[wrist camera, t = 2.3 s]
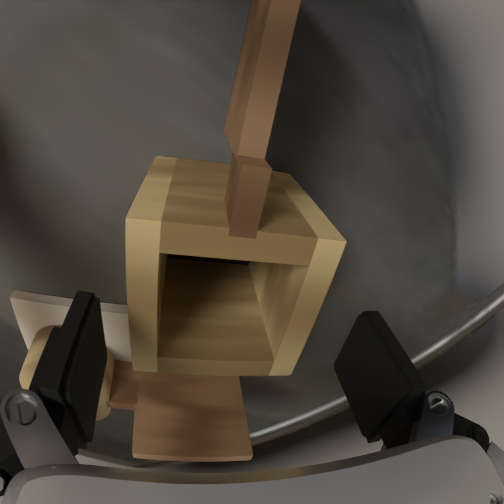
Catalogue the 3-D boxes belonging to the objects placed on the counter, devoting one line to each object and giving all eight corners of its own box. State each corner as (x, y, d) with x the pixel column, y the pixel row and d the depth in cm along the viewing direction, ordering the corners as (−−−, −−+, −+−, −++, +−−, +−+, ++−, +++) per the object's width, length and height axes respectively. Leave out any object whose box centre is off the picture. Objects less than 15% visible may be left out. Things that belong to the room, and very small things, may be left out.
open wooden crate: (193, -34, 9) (192, -109, 3) (331, -4, 11) (417, -40, 5) (148, 271, 17) (132, 370, 11) (261, 280, 19) (290, 374, 13)
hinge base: (46, 379, 21) (23, 483, 12) (14, 289, 16) (-47, 417, 8) (226, 398, 25) (243, 509, 16) (248, 314, 20) (283, 465, 11)
